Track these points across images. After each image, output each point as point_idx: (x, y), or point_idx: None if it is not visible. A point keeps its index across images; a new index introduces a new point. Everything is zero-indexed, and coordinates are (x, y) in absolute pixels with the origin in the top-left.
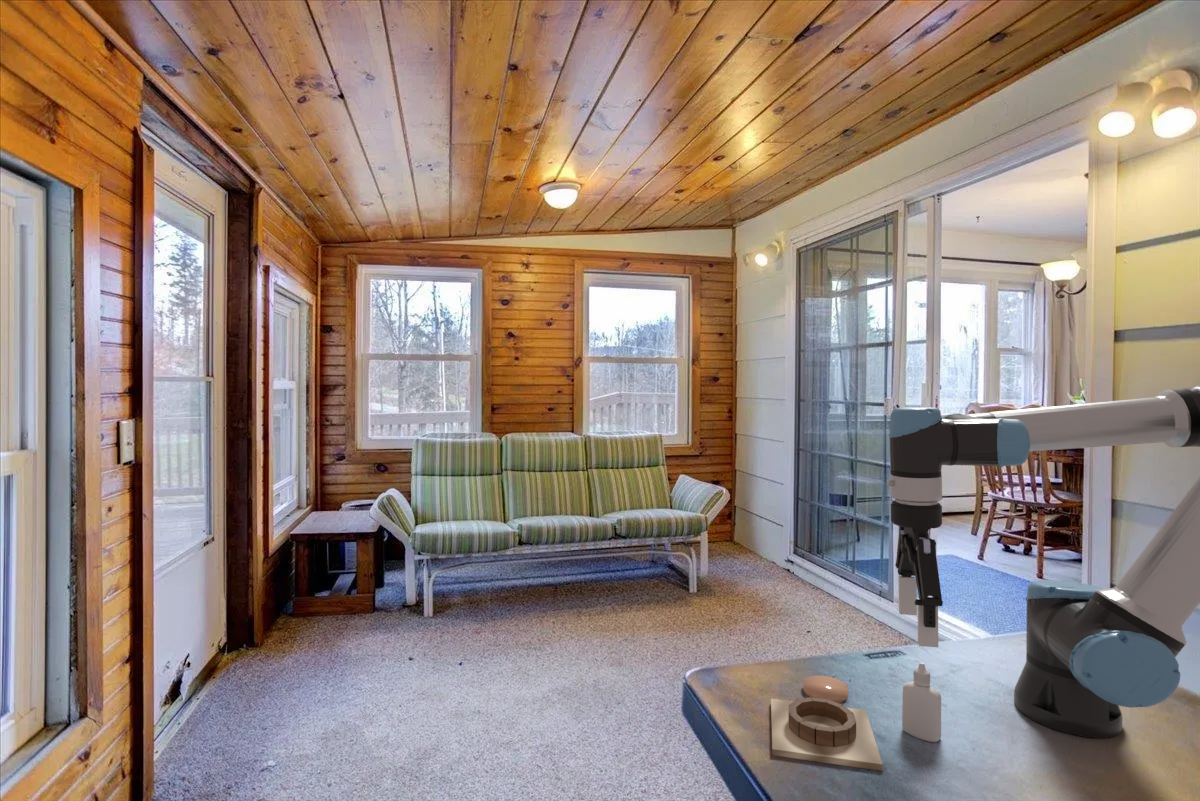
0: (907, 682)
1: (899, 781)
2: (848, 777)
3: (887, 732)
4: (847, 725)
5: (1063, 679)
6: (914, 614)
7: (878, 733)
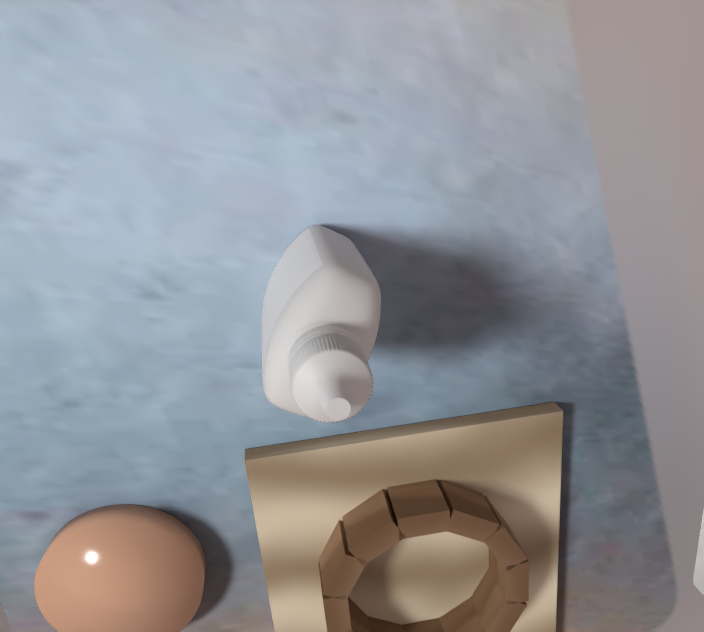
0: (288, 406)
1: (591, 362)
2: (599, 476)
3: None
4: (481, 530)
5: None
6: (3, 618)
7: None
